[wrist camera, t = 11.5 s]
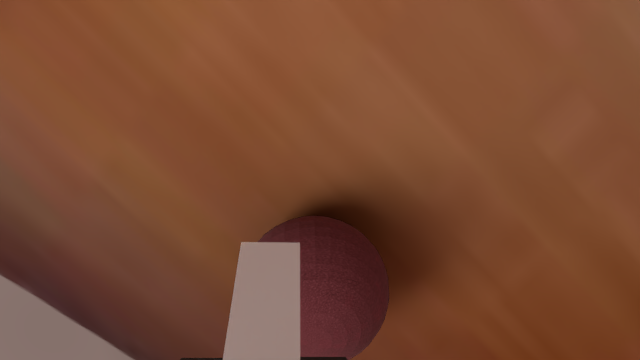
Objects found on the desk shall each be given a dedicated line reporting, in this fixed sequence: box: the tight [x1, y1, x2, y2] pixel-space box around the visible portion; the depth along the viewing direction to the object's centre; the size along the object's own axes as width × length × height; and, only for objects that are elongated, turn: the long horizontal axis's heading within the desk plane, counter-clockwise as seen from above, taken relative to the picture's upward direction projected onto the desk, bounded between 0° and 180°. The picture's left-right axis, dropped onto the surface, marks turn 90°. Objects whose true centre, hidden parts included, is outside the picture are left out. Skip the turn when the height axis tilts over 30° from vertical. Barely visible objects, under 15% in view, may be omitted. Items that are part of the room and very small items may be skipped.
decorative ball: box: [258, 216, 389, 360], centre depth 40 cm, size 10×10×10 cm
